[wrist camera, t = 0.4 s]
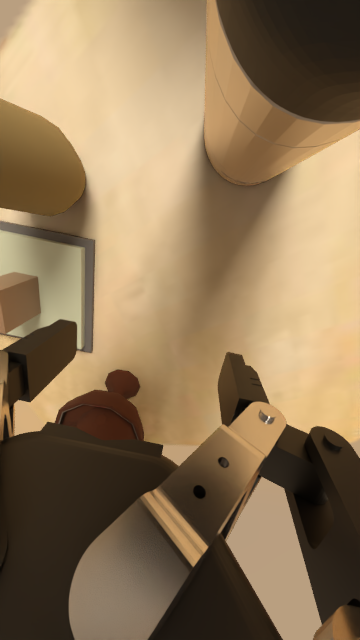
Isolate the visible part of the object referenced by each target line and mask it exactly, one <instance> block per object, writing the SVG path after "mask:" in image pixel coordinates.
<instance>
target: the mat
mask: <svg viewBox="0 0 360 640" xmlns="http://www.w3.org/2000/svg"><path fill="white" fill-rule="evenodd" d="M0 230H2V231H7V232H12V233H17V234H22V235H27V236H32V237H37V238H41V239H46V240H51V241H56V242H61V243H66V244H71V245H75V246H80V247H85V346H84V347H83V348H82V349H77V350H80V351H85V352H90V353H92V349H93V305H94V261H95V240H92V239H87V238H82V237H77V236H72V235H67V234H62V233H57V232H53V231H48V230H43V229H38V228H33V227H28V226H23V225H18V224H14V223H9V222H4V221H0ZM0 334H3V333H0ZM3 335H8V336H12V337H17V338H22V339H23V337H19V336H14V335H9V334H3Z"/></svg>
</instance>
